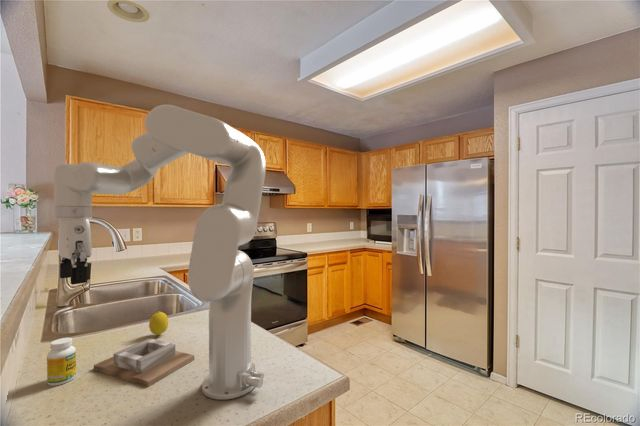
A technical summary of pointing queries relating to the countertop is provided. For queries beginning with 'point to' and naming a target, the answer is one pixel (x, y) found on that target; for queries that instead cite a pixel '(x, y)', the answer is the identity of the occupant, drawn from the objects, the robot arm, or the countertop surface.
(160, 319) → the lemon
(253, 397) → the countertop surface
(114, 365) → the dock board
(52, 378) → the supplement bottle
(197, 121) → the robot arm
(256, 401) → the countertop surface
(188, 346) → the countertop surface
